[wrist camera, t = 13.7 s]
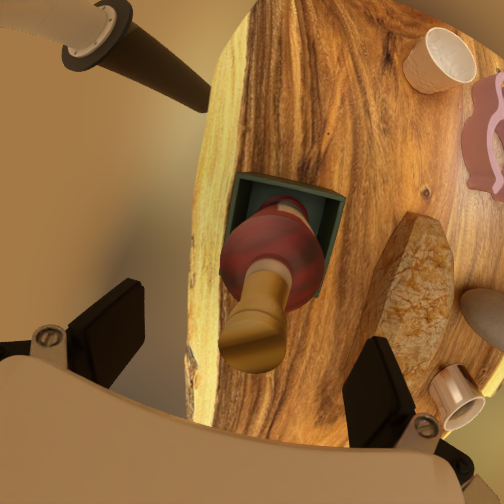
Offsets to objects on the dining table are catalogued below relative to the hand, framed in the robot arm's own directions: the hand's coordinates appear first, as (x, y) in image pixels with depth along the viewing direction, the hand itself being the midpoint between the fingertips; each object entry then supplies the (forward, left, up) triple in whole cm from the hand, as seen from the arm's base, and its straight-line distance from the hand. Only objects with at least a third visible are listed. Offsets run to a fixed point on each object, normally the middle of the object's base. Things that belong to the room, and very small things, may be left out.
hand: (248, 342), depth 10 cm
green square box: (0, 0, -28) cm, 28 cm away
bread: (+23, +8, -29) cm, 38 cm away
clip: (+3, +38, -29) cm, 48 cm away
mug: (+45, +17, -29) cm, 56 cm away
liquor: (0, 0, -28) cm, 28 cm away
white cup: (-10, +30, -29) cm, 43 cm away
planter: (+28, +26, -29) cm, 48 cm away
